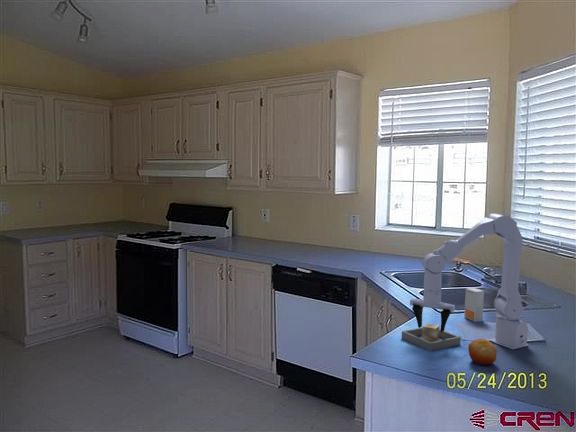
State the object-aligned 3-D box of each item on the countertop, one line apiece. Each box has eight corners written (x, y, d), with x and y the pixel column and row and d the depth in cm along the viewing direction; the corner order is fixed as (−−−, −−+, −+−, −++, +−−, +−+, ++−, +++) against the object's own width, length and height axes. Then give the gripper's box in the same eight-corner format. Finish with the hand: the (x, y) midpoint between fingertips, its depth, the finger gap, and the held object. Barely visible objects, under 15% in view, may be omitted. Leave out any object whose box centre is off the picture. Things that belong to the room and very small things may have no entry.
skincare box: (463, 317, 193) (465, 288, 192) (472, 316, 194) (473, 287, 193) (474, 322, 187) (476, 291, 186) (483, 321, 188) (484, 290, 187)
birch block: (438, 339, 165) (439, 325, 165) (435, 343, 162) (436, 328, 161) (425, 337, 168) (426, 323, 167) (422, 340, 164) (422, 326, 164)
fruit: (486, 351, 152) (493, 334, 148) (495, 372, 146) (503, 355, 141) (461, 351, 152) (467, 334, 147) (469, 372, 146) (475, 355, 141)
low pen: (460, 344, 162) (460, 337, 162) (430, 351, 156) (430, 343, 155) (430, 332, 174) (430, 325, 174) (401, 338, 167) (401, 331, 167)
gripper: (457, 290, 163) (455, 329, 164) (414, 284, 170) (413, 322, 172) (452, 294, 157) (450, 335, 158) (408, 288, 164) (407, 327, 166)
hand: (431, 328), depth 164 cm, fingers open, 7 cm apart
